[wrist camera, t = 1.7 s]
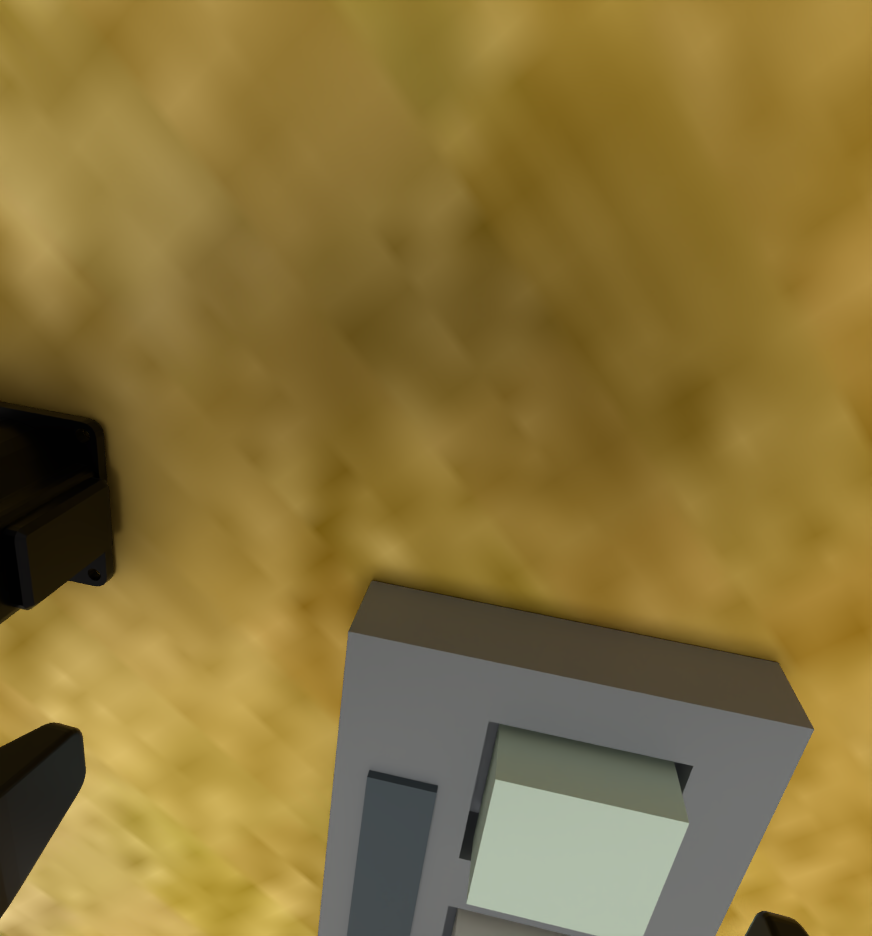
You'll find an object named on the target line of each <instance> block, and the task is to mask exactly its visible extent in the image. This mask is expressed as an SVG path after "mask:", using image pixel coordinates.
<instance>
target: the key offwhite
mask: <svg viewBox="0 0 872 936" xmlns="http://www.w3.org/2000/svg"><path fill="white" fill-rule="evenodd" d="M451 936H570V935H566V934H562V933H558V932H554V931H550V930H545V929H541V928H537V927H533V926H529V925H525V924H521V923H517V922H513V921H509V920H505V919H501V918H497V917H493V916H489V915H484V914H480V913H476V912H472V911H468V910H464V909H460V908H457V912H456V917H455V921H454V925H453V930H452V934H451Z"/></svg>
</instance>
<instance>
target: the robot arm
mask: <svg viewBox="0 0 872 936" xmlns="http://www.w3.org/2000/svg"><path fill="white" fill-rule="evenodd" d="M83 429H84V430H86V431H87V432H88V433H89V436H90V438H87V437H86V436H85V435H84V432H83ZM112 545H113V540H112V525H111V511H110V496H109V486H108V484H107V472H106V457H105V443H104V433H103V429H102V428H101V426H100V425H99V424H98V423H97V422H96V421H95V420H92V419H90V418H85V417H79V416H74V415H69V414H63V413H58V412H52V411H47V410H42V409H36V408H31V407H26V406H20V405H15V404H10V403H4V402H0V624H1V623H2V622H4V621H5V620H6V619H8V618H9V617H10V616H11V615H13V614H14V613H15V612H17V611H18V610H19V609H24V610H30V609H32V608H33V607H34V606H36V605H37V604H38V603H40V602H41V601H42V600H44V599H45V598H46V597H47V596H49V595H50V594H51V593H53V592H54V591H55V590H57V589H58V588H59V587H60V586H62V585H63V584H64V583H66V582H67V581H73V582H78V583H83V584H87V585H92V586H102V585H104V584H105V583H106V582H108V581H109V580H110V579H111V578H112V576H113V572H114V571H113V557H112ZM96 570H97V571H98V572H99V573H100V574H98V573H97V572H96ZM85 774H86V766H85V755H84V745H83V736H82V733H81V731H80V730H79V729H78V728H75V727H71V726H67V725H64V724H60V723H49V724H45V725H43V726H41V727H39V728H37V729H35V730H33V731H31V732H29V733H27V734H25V735H23V736H21V737H19V738H18V739H16V740H14V741H12V742H10V743H8V744H6V745H4V746H2V747H0V918H1V917H2V915H3V914H4V912H5V911H6V910H7V908H8V907H9V905H10V904H11V902H12V901H13V899H14V897H15V896H16V894H17V893H18V891H19V890H20V888H21V886H22V885H23V883H24V881H25V880H26V878H27V877H28V875H29V873H30V872H31V870H32V868H33V867H34V865H35V863H36V862H37V860H38V858H39V857H40V855H41V853H42V852H43V850H44V849H45V847H46V845H47V844H48V842H49V840H50V839H51V837H52V835H53V834H54V832H55V830H56V829H57V827H58V826H59V824H60V822H61V821H62V819H63V817H64V816H65V814H66V812H67V811H68V809H69V807H70V806H71V804H72V802H73V801H74V799H75V798H76V796H77V794H78V793H79V791H80V789H81V787H82V785H83V782H84V779H85ZM745 936H809V935H808V934H807V932H806V931H805V930H804V928H803V927H802V926H801V925H800V924H799V923H798V922H797V921H795V920H794V919H792V918H790V917H786V916H783V915H779V914H775V913H771V912H767V911H761V912H759V913H757V915H756V916H755V918H754V920H753V921H752V923H751V925H750V927H749V929H748V931H747V933H746V934H745Z"/></svg>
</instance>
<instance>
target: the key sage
mask: <svg viewBox="0 0 872 936" xmlns="http://www.w3.org/2000/svg"><path fill="white" fill-rule="evenodd" d="M688 825H689V820H688V816H687V812H686V808H685V804H684V800H683V796H682V792H681V788H680V784H679V780H678V776H677V772H676V768H675V764H674V762H673V761H668V760H664V759H659V758H655V757H650V756H645V755H641V754H636V753H632V752H627V751H623V750H618V749H613V748H609V747H604V746H600V745H595V744H591V743H586V742H581V741H577V740H572V739H568V738H563V737H558V736H554V735H549V734H545V733H540V732H536V731H531V730H526V729H522V728H517V727H513V726H508V725H504V724H499V727H498V732H497V736H496V740H495V745H494V749H493V754H492V758H491V762H490V767H489V771H488V776H487V780H486V784H485V789H484V793H483V798H482V802H481V806H480V811H479V815H478V820H477V824H476V828H475V833H474V837H473V846H472V855H471V865H470V874H469V884H468V893H467V903H466V904H469V905H473V906H477V907H481V908H485V909H490V910H494V911H498V912H502V913H506V914H510V915H514V916H518V917H522V918H526V919H530V920H534V921H539V922H543V923H547V924H551V925H555V926H559V927H563V928H567V929H571V930H575V931H579V932H583V933H588V934H592V935H596V936H643V935H644V933H645V930H646V928H647V925H648V923H649V920H650V918H651V916H652V913H653V911H654V908H655V906H656V903H657V901H658V898H659V896H660V894H661V891H662V889H663V886H664V884H665V881H666V879H667V877H668V874H669V872H670V869H671V867H672V864H673V862H674V859H675V857H676V855H677V852H678V850H679V847H680V845H681V842H682V840H683V838H684V835H685V833H686V830H687V828H688Z"/></svg>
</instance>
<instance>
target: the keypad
mask: <svg viewBox="0 0 872 936" xmlns="http://www.w3.org/2000/svg"><path fill="white" fill-rule="evenodd" d="M499 724H504V725H508V726H513V727H517V728H522V729H526V730H531V731H536V732H540V733H545V734H549V735H554V736H558V737H563V738H568V739H572V740H577V741H581V742H586V743H591V744H595V745H600V746H604V747H609V748H613V749H618V750H623V751H627V752H632V753H636V754H641V755H645V756H650V757H655V758H659V759H664V760H668V761H673V762H674V764H675V768H676V772H677V776H678V780H679V784H680V788H681V792H682V796H683V800H684V804H685V808H686V812H687V816H688V820H689V825H688V828H687V830H686V833H685V835H684V838H683V840H682V842H681V845H680V847H679V850H678V852H677V855H676V857H675V859H674V862H673V864H672V867H671V869H670V872H669V874H668V877H667V879H666V881H665V884H664V886H663V889H662V891H661V894H660V896H659V898H658V901H657V903H656V906H655V908H654V911H653V913H652V916H651V918H650V920H649V923H648V925H647V928H646V930H645V933H644V935H643V936H715V935H716V933H717V931H718V929H719V927H720V925H721V923H722V921H723V919H724V916H725V914H726V912H727V910H728V908H729V906H730V904H731V902H732V900H733V898H734V896H735V893H736V891H737V889H738V887H739V885H740V883H741V881H742V879H743V877H744V875H745V873H746V870H747V868H748V866H749V864H750V862H751V860H752V858H753V856H754V854H755V852H756V850H757V848H758V845H759V843H760V841H761V839H762V837H763V835H764V833H765V831H766V829H767V827H768V825H769V822H770V820H771V818H772V816H773V814H774V812H775V810H776V808H777V806H778V804H779V802H780V799H781V797H782V795H783V793H784V791H785V789H786V787H787V785H788V783H789V781H790V779H791V776H792V774H793V772H794V770H795V768H796V766H797V764H798V762H799V760H800V758H801V756H802V754H803V751H804V749H805V747H806V745H807V743H808V741H809V739H810V737H811V735H812V733H813V731H814V728H813V726H812V724H811V723H810V721H809V719H808V717H807V715H806V713H805V711H804V710H803V708H802V706H801V704H800V702H799V700H798V698H797V697H796V695H795V693H794V691H793V689H792V687H791V685H790V684H789V682H788V680H787V678H786V676H785V674H784V672H783V670H782V669H781V667H780V665H779V663H777V662H772V661H767V660H762V659H757V658H752V657H747V656H742V655H738V654H733V653H728V652H723V651H718V650H713V649H708V648H703V647H698V646H693V645H688V644H683V643H678V642H673V641H668V640H663V639H658V638H653V637H648V636H644V635H639V634H634V633H629V632H624V631H619V630H614V629H609V628H604V627H599V626H594V625H589V624H584V623H579V622H574V621H569V620H564V619H559V618H555V617H550V616H545V615H540V614H535V613H530V612H525V611H520V610H515V609H510V608H505V607H500V606H495V605H490V604H485V603H480V602H475V601H470V600H466V599H461V598H456V597H451V596H446V595H441V594H436V593H431V592H426V591H421V590H416V589H411V588H406V587H401V586H396V585H391V584H386V583H381V582H376V581H371V584H370V586H369V588H368V590H367V592H366V594H365V597H364V599H363V601H362V603H361V605H360V607H359V610H358V612H357V614H356V616H355V618H354V620H353V623H352V625H351V627H350V629H349V631H348V641H347V651H346V661H345V671H344V681H343V691H342V701H341V711H340V721H339V731H338V741H337V751H336V761H335V771H334V781H333V791H332V801H331V811H330V821H329V831H328V841H327V850H326V860H325V870H324V880H323V890H322V900H321V910H320V920H319V930H318V936H451V934H452V930H453V925H454V921H455V917H456V912H457V908H460V909H464V910H468V911H472V912H476V913H480V914H484V915H489V916H493V917H497V918H501V919H505V920H509V921H513V922H517V923H521V924H525V925H529V926H533V927H537V928H541V929H545V930H550V931H554V932H558V933H562V934H566V935H570V936H596V935H592V934H588V933H583V932H579V931H575V930H571V929H567V928H563V927H559V926H555V925H551V924H547V923H543V922H539V921H534V920H530V919H526V918H522V917H518V916H514V915H510V914H506V913H502V912H498V911H494V910H490V909H485V908H481V907H477V906H473V905H469V904H466V903H467V893H468V884H469V874H470V865H471V855H472V846H473V837H474V833H475V828H476V824H477V820H478V815H479V811H480V806H481V802H482V798H483V793H484V789H485V784H486V780H487V776H488V771H489V767H490V762H491V758H492V754H493V749H494V745H495V740H496V736H497V732H498V727H499Z"/></svg>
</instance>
